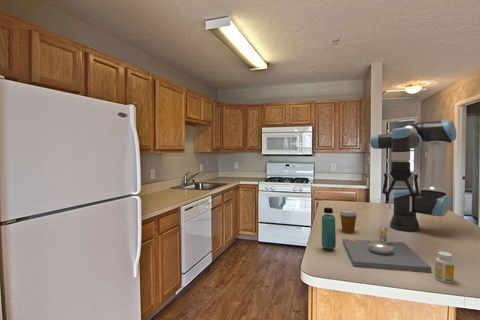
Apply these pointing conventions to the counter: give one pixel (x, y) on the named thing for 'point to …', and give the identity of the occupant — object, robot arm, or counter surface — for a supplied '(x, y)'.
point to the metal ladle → (381, 244)
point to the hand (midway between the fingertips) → (400, 209)
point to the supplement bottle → (444, 267)
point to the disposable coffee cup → (348, 220)
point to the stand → (384, 257)
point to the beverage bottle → (328, 229)
